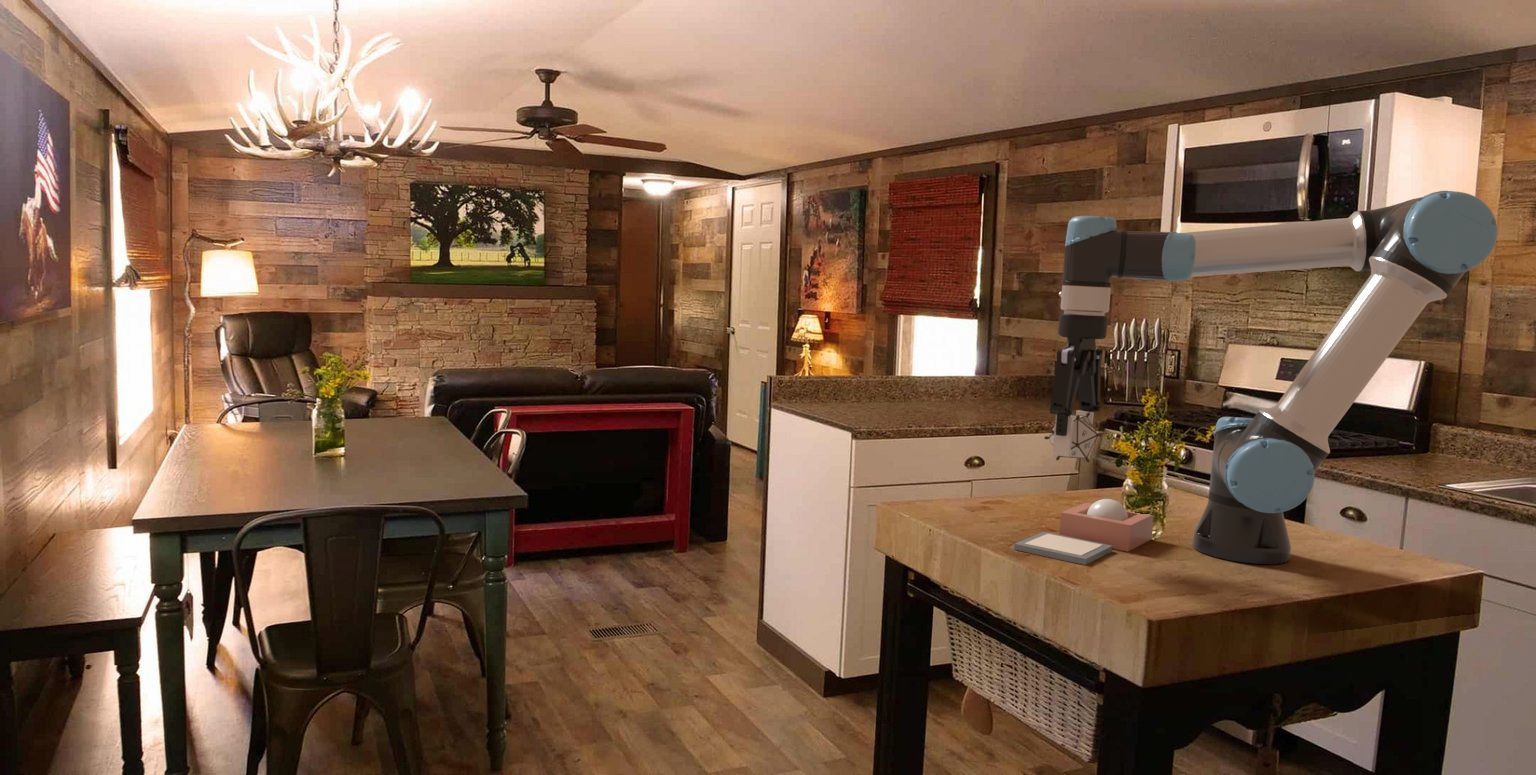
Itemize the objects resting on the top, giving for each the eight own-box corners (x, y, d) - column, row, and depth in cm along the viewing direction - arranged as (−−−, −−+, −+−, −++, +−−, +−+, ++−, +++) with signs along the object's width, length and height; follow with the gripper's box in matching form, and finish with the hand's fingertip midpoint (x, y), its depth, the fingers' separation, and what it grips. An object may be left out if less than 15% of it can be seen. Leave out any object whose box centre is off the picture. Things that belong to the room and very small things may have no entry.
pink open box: (1151, 539, 184) (1153, 514, 184) (1128, 551, 175) (1130, 525, 174) (1084, 526, 191) (1086, 502, 191) (1059, 537, 182) (1061, 512, 181)
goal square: (1112, 551, 174) (1112, 545, 174) (1085, 565, 165) (1085, 558, 165) (1043, 537, 181) (1044, 531, 181) (1014, 549, 172) (1014, 543, 172)
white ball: (1132, 539, 184) (1135, 500, 183) (1118, 546, 178) (1122, 505, 177) (1093, 531, 188) (1096, 493, 187) (1078, 538, 182) (1081, 498, 181)
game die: (1074, 481, 173) (1107, 433, 175) (1085, 472, 165) (1119, 421, 167) (1028, 450, 175) (1061, 402, 177) (1036, 439, 167) (1071, 390, 169)
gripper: (1085, 312, 179) (1073, 443, 182) (1035, 311, 163) (1023, 456, 165) (1128, 315, 175) (1116, 449, 177) (1082, 315, 158) (1069, 463, 161)
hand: (1071, 452), depth 171 cm, fingers closed on game die, 8 cm apart
